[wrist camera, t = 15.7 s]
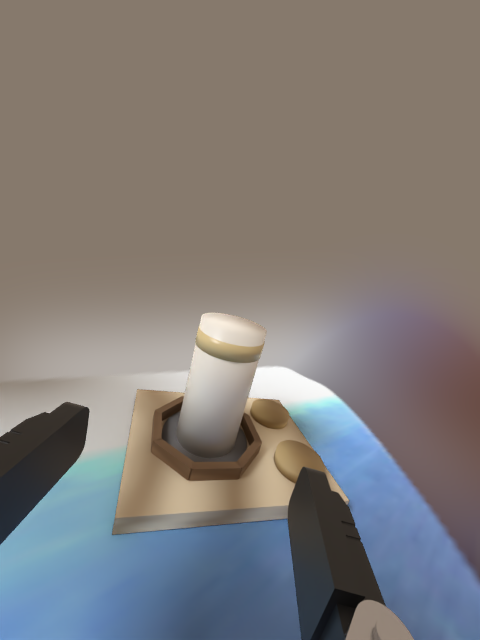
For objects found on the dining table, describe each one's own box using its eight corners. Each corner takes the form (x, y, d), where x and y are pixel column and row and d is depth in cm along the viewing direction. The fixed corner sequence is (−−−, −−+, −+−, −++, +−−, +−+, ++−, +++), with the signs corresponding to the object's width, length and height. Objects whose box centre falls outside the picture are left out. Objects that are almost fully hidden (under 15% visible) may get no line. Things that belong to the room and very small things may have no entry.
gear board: (111, 534, 14) (117, 503, 14) (135, 399, 26) (138, 380, 26) (343, 513, 20) (353, 490, 19) (275, 408, 32) (280, 392, 31)
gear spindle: (177, 459, 19) (207, 329, 16) (174, 414, 23) (196, 308, 21) (242, 458, 20) (278, 340, 18) (227, 416, 25) (254, 318, 23)
